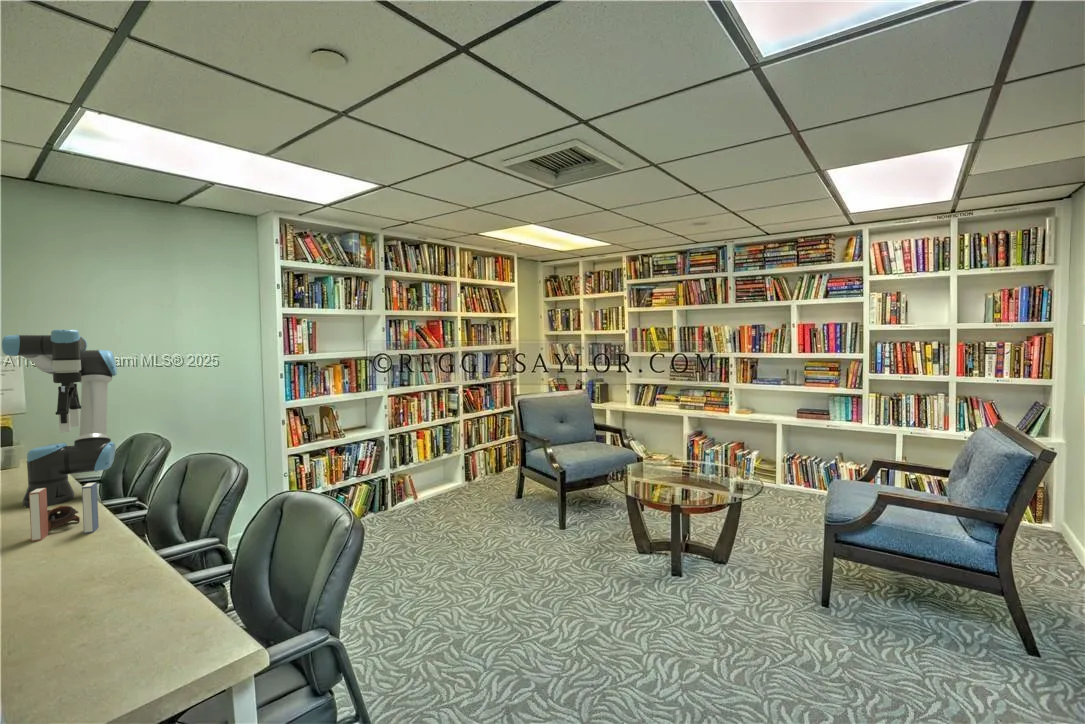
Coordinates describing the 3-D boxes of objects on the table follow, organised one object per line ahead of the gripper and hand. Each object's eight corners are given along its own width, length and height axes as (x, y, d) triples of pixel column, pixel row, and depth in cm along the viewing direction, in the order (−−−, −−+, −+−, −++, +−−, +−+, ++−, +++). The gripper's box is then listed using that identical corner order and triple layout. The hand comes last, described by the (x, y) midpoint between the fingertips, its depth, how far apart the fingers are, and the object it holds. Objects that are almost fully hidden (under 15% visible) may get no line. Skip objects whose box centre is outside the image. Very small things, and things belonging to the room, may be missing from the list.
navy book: (89, 528, 175) (87, 483, 175) (98, 527, 177) (96, 481, 176) (83, 534, 170) (81, 487, 170) (93, 532, 171) (91, 486, 171)
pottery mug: (90, 521, 183) (83, 505, 178) (65, 542, 174) (57, 525, 170) (59, 514, 183) (51, 498, 179) (33, 534, 175) (24, 518, 171)
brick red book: (38, 535, 169) (36, 488, 169) (48, 534, 170) (46, 487, 170) (31, 541, 164) (28, 493, 163) (41, 540, 165) (39, 491, 164)
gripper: (62, 370, 191) (65, 425, 192) (42, 374, 170) (45, 436, 171) (88, 369, 195) (91, 423, 196) (72, 373, 174) (75, 433, 175)
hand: (70, 429), depth 184 cm, fingers open, 13 cm apart
